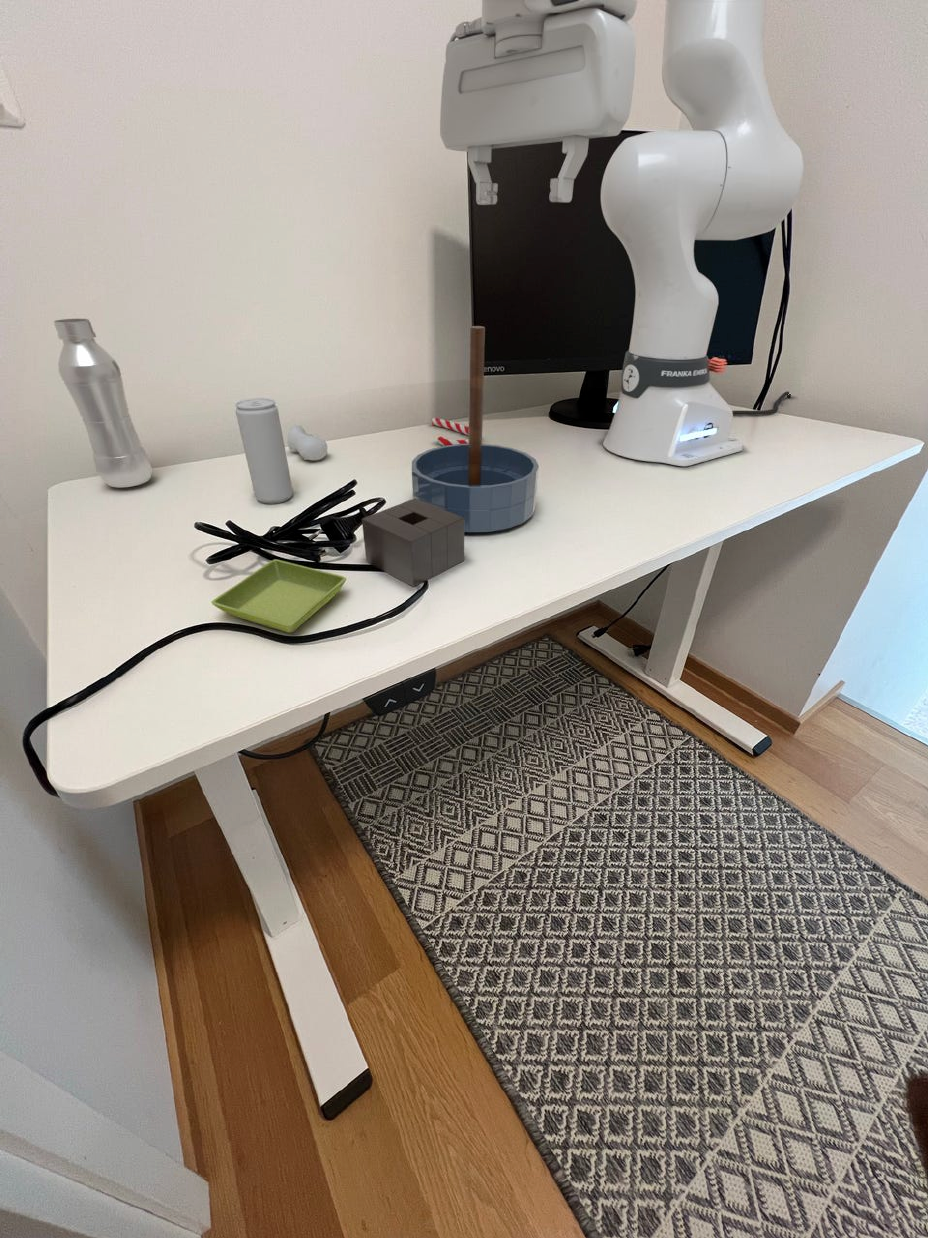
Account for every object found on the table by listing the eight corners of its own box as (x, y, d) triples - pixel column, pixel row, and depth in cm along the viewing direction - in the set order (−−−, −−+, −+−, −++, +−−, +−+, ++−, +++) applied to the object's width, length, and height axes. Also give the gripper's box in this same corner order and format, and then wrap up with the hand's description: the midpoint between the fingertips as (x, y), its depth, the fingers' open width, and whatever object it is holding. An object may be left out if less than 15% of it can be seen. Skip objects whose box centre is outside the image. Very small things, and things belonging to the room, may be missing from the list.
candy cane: (449, 414, 100) (490, 436, 89) (449, 421, 101) (490, 444, 90) (410, 420, 97) (448, 443, 86) (410, 427, 98) (448, 451, 87)
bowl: (502, 480, 77) (504, 438, 73) (556, 524, 65) (561, 476, 62) (399, 496, 72) (396, 451, 69) (437, 546, 61) (436, 495, 57)
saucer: (351, 595, 52) (348, 576, 51) (294, 646, 46) (289, 626, 45) (278, 576, 55) (274, 558, 54) (214, 621, 49) (208, 602, 47)
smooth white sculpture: (332, 468, 84) (300, 464, 81) (312, 452, 89) (281, 448, 86) (336, 440, 82) (304, 435, 79) (316, 426, 87) (285, 421, 84)
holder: (417, 538, 62) (415, 497, 59) (464, 560, 58) (464, 517, 55) (366, 561, 58) (361, 518, 55) (413, 587, 54) (411, 542, 51)
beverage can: (257, 507, 69) (235, 409, 62) (254, 493, 73) (232, 399, 66) (296, 501, 70) (278, 405, 63) (291, 488, 74) (273, 396, 67)
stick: (477, 502, 69) (481, 325, 58) (482, 506, 68) (487, 327, 57) (465, 503, 69) (467, 326, 57) (470, 508, 68) (473, 328, 56)
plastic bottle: (129, 473, 78) (72, 315, 67) (167, 479, 77) (116, 318, 65) (92, 489, 73) (23, 322, 62) (132, 496, 72) (69, 325, 60)
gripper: (423, 18, 51) (427, 204, 59) (617, -41, 39) (590, 199, 47) (469, 34, 55) (467, 206, 63) (657, -17, 43) (626, 202, 51)
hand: (521, 203), depth 55 cm, fingers open, 8 cm apart
